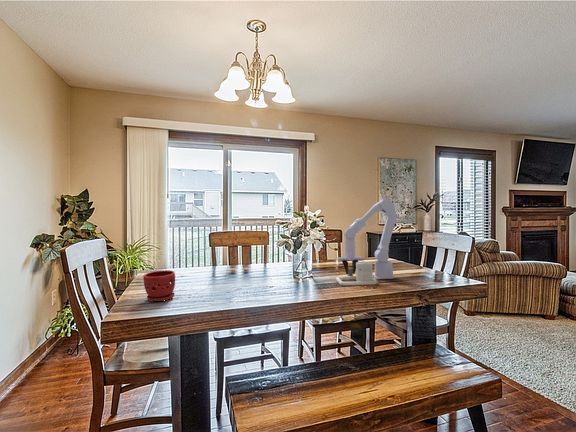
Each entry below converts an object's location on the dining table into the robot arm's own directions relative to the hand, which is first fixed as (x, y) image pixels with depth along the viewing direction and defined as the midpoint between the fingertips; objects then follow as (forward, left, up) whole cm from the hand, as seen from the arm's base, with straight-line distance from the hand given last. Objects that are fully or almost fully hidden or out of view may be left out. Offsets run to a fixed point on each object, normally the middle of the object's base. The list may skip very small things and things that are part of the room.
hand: (350, 273), depth 184 cm
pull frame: (0, +8, -2) cm, 9 cm away
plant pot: (+95, +32, -2) cm, 100 cm away
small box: (-4, +13, -2) cm, 14 cm away
